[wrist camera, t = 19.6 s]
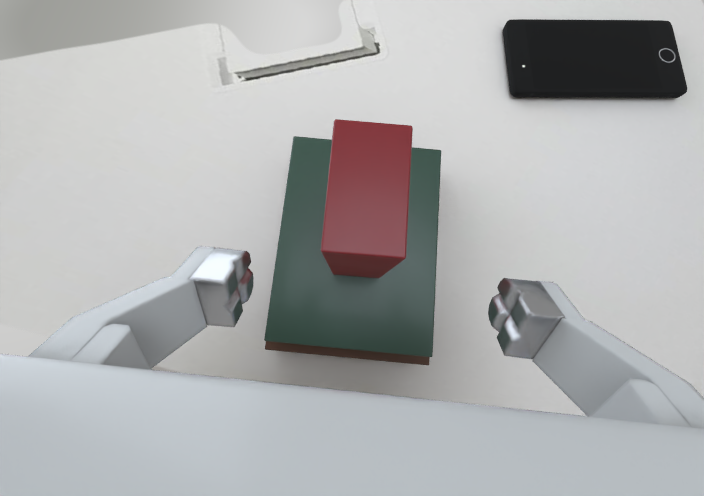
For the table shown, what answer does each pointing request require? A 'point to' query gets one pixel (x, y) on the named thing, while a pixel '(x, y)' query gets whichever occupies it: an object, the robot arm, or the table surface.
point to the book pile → (351, 291)
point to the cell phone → (593, 58)
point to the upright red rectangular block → (367, 198)
